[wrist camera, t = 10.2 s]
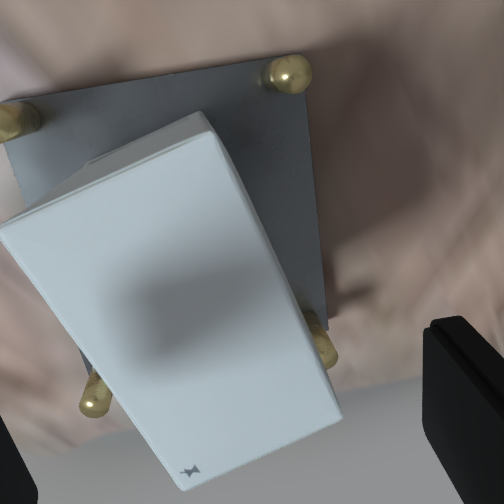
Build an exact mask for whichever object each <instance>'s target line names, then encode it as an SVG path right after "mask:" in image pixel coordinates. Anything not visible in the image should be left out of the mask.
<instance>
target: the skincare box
mask: <svg viewBox="0 0 504 504" xmlns="http://www.w3.org/2000/svg"><path fill="white" fill-rule="evenodd" d="M0 241H1V242H2V243H3V245H4V246H5V247H6V248H7V250H8V251H9V252H10V253H11V255H12V256H13V257H14V259H15V260H16V261H17V263H18V264H19V265H20V267H21V268H22V269H23V271H24V272H25V273H26V275H27V276H28V278H29V279H30V280H31V282H32V283H33V284H34V286H35V287H36V288H37V290H38V291H39V292H40V294H41V295H42V297H43V298H44V299H45V301H46V302H47V304H48V305H49V306H50V308H51V309H52V311H53V312H54V313H55V315H56V316H57V317H58V319H59V320H60V322H61V323H62V324H63V326H64V327H65V329H66V330H67V331H68V333H69V334H70V336H71V337H72V338H73V340H74V341H75V342H76V344H77V345H78V346H79V348H80V349H81V351H82V352H83V353H84V355H85V356H86V357H87V359H88V360H89V362H90V363H91V364H92V366H93V367H94V368H95V370H96V371H97V372H98V374H99V375H100V377H101V378H102V379H103V381H104V382H105V384H106V385H107V386H108V388H109V389H110V390H111V392H112V393H113V395H114V396H115V397H116V399H117V400H118V402H119V403H120V404H121V406H122V407H123V409H124V410H125V411H126V413H127V414H128V416H129V417H130V419H131V420H132V421H133V423H134V424H135V426H136V427H137V429H138V430H139V431H140V433H141V434H142V436H143V437H144V438H145V440H146V441H147V443H148V444H149V446H150V447H151V448H152V450H153V451H154V452H155V454H156V455H157V457H158V458H159V460H160V461H161V462H162V464H163V465H164V467H165V468H166V470H167V471H168V472H169V474H170V475H171V477H172V478H173V480H174V481H175V483H176V484H177V486H178V487H179V488H180V489H181V490H182V491H188V490H190V489H192V488H194V487H197V486H199V485H201V484H203V483H206V482H208V481H210V480H212V479H214V478H216V477H219V476H221V475H223V474H225V473H228V472H230V471H232V470H234V469H236V468H238V467H240V466H243V465H245V464H247V463H249V462H252V461H254V460H256V459H258V458H260V457H263V456H265V455H267V454H269V453H271V452H274V451H276V450H278V449H280V448H283V447H285V446H287V445H289V444H292V443H294V442H296V441H298V440H301V439H303V438H305V437H308V436H310V435H311V434H314V433H315V432H317V431H320V430H322V429H324V428H325V427H328V426H330V425H332V424H334V423H337V422H338V421H340V420H342V419H343V414H342V410H341V407H340V405H339V402H338V400H337V397H336V394H335V392H334V389H333V386H332V384H331V381H330V379H329V376H328V374H327V371H326V369H325V366H324V364H323V361H322V359H321V356H320V354H319V352H318V349H317V347H316V345H315V342H314V340H313V338H312V335H311V333H310V331H309V328H308V326H307V324H306V321H305V319H304V317H303V315H302V312H301V310H300V308H299V306H298V303H297V301H296V299H295V297H294V294H293V292H292V290H291V288H290V285H289V283H288V281H287V279H286V276H285V274H284V272H283V270H282V268H281V265H280V263H279V261H278V259H277V256H276V254H275V252H274V250H273V248H272V245H271V243H270V241H269V239H268V237H267V234H266V232H265V230H264V228H263V226H262V223H261V221H260V219H259V217H258V215H257V213H256V210H255V208H254V206H253V204H252V202H251V200H250V197H249V195H248V193H247V191H246V189H245V187H244V185H243V182H242V180H241V178H240V176H239V174H238V172H237V170H236V168H235V166H234V164H233V162H232V160H231V158H230V156H229V154H228V152H227V150H226V148H225V147H224V145H223V143H222V141H221V140H220V138H219V136H218V135H217V133H216V132H215V130H214V129H213V127H212V126H211V125H210V123H209V121H208V120H207V119H206V117H205V115H204V114H203V112H202V111H197V112H195V113H193V114H191V115H188V116H186V117H184V118H181V119H179V120H177V121H175V122H173V123H171V124H169V125H167V126H165V127H163V128H161V129H159V130H156V131H154V132H152V133H150V134H148V135H146V136H143V137H141V138H139V139H137V140H135V141H132V142H130V143H128V144H126V145H124V146H122V147H119V148H117V149H115V150H113V151H110V152H108V153H105V154H103V155H101V156H98V157H96V158H94V159H92V160H89V161H87V162H86V163H85V164H84V166H83V167H82V168H81V169H80V170H78V171H77V172H75V173H74V174H73V175H71V176H70V177H69V178H67V179H66V180H65V181H63V182H62V183H61V184H59V185H58V186H56V187H55V188H54V189H53V190H51V191H50V192H49V193H47V194H46V195H44V196H43V197H42V198H40V199H39V200H37V201H36V202H35V203H33V204H32V205H31V206H29V207H28V208H27V209H25V210H24V211H23V212H21V213H19V214H17V215H15V216H13V217H12V218H10V219H8V220H7V221H5V222H3V223H2V224H1V225H0Z"/></svg>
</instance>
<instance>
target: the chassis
mask: <svg viewBox="0 0 504 504" xmlns="http://www.w3.org/2000/svg"><path fill="white" fill-rule="evenodd" d="M311 79H312V69H311V66H310V64H309V62H308V61H307V60H306V59H305V58H304V57H302V54H301V53H298V54H292V55H285V56H279V57H273V58H267V59H261V60H255V61H249V62H243V63H237V64H231V65H225V66H219V67H213V68H206V69H200V70H194V71H188V72H182V73H176V74H170V75H164V76H158V77H152V78H146V79H140V80H133V81H127V82H121V83H115V84H109V85H103V86H97V87H91V88H85V89H79V90H73V91H67V92H60V93H54V94H48V95H42V96H36V97H30V98H24V99H18V100H12V101H6V102H0V144H1V143H3V144H4V147H5V149H6V152H7V155H8V157H9V160H10V163H11V166H12V168H13V171H14V174H15V176H16V179H17V182H18V185H19V187H20V190H21V193H22V195H23V198H24V201H25V203H26V206H27V208H28V207H29V206H31V205H32V204H33V203H35V202H36V201H37V200H39V199H40V198H42V197H43V196H44V195H46V194H47V193H49V192H50V191H51V190H53V189H54V188H55V187H56V186H58V185H59V184H61V183H62V182H63V181H65V180H66V179H67V178H69V177H70V176H71V175H73V174H74V173H75V172H77V171H78V170H80V169H81V168H82V167H83V166H84V164H85V163H86V162H87V161H89V160H92V159H94V158H96V157H98V156H101V155H103V154H105V153H108V152H110V151H113V150H115V149H117V148H119V147H122V146H124V145H126V144H128V143H130V142H132V141H135V140H137V139H139V138H141V137H143V136H146V135H148V134H150V133H152V132H154V131H156V130H159V129H161V128H163V127H165V126H167V125H169V124H171V123H173V122H175V121H177V120H179V119H181V118H184V117H186V116H188V115H191V114H193V113H195V112H197V111H202V112H203V114H204V115H205V117H206V119H207V120H208V121H209V123H210V125H211V126H212V127H213V129H214V130H215V132H216V133H217V135H218V136H219V138H220V140H221V141H222V143H223V145H224V147H225V148H226V150H227V152H228V154H229V156H230V158H231V160H232V162H233V164H234V166H235V168H236V170H237V172H238V174H239V176H240V178H241V180H242V182H243V185H244V187H245V189H246V191H247V193H248V195H249V197H250V200H251V202H252V204H253V206H254V208H255V210H256V213H257V215H258V217H259V219H260V221H261V223H262V226H263V228H264V230H265V232H266V234H267V237H268V239H269V241H270V243H271V245H272V248H273V250H274V252H275V254H276V256H277V259H278V261H279V263H280V265H281V268H282V270H283V272H284V274H285V276H286V279H287V281H288V283H289V285H290V288H291V290H292V292H293V294H294V297H295V299H296V301H297V303H298V306H299V308H300V310H301V312H302V315H303V317H304V319H305V321H306V324H307V326H308V328H309V331H310V333H311V335H312V338H313V340H314V342H315V345H316V347H317V349H318V352H319V354H320V356H321V359H322V361H323V364H324V366H325V369H326V370H327V369H330V368H331V367H333V366H334V365H335V364H336V362H337V360H338V353H337V351H336V350H335V348H334V346H333V344H332V342H331V340H330V338H329V336H328V334H327V333H326V331H328V330H329V327H328V317H327V307H326V297H325V286H324V276H323V266H322V256H321V246H320V236H319V226H318V216H317V206H316V195H315V185H314V175H313V165H312V155H311V145H310V135H309V125H308V115H307V104H306V94H305V89H306V88H307V87H308V86H309V84H310V82H311ZM78 347H79V346H78ZM79 350H80V352H81V355H82V358H83V361H84V363H85V366H86V369H87V371H88V374H89V379H88V381H87V384H86V387H85V390H84V393H83V396H82V398H81V401H80V404H79V408H80V411H81V412H82V414H84V415H85V416H87V417H90V418H99V417H102V416H104V415H105V414H106V413H107V412H108V410H109V406H110V403H111V399H112V395H113V393H112V392H111V390H110V389H109V388H108V386H107V385H106V384H105V382H104V381H103V379H102V378H101V377H100V375H99V374H98V372H97V371H96V370H95V368H94V367H93V366H92V364H91V363H90V362H89V360H88V359H87V357H86V356H85V355H84V353H83V352H82V351H81V349H80V348H79Z"/></svg>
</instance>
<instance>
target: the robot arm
mask: <svg viewBox="0 0 504 504" xmlns="http://www.w3.org/2000/svg"><path fill="white" fill-rule="evenodd" d="M422 394H423V395H422V398H423V399H422V423H423V428H424V432H425V435H426V437H427V439H428V440H429V443H430V444H431V446H432V448H433V450H434V451H435V453H436V455H437V457H438V458H439V460H440V462H441V464H442V466H443V467H444V469H445V471H446V473H447V474H448V476H449V478H450V479H451V481H452V483H453V485H454V487H455V489H456V490H457V492H458V494H459V496H460V497H461V499H462V501H463V503H464V504H504V358H503V357H502V356H501V355H500V354H499V353H498V352H497V351H496V350H495V349H494V348H493V347H492V346H491V345H490V344H489V343H488V342H487V341H486V340H485V339H484V338H483V337H482V336H481V335H480V334H479V333H478V332H477V331H476V330H475V329H474V328H473V327H472V326H471V325H470V324H469V323H468V322H467V321H466V320H465V319H464V318H463V317H462V316H452V317H446V318H440V319H434V320H432V322H431V324H430V327H428V328H425V329H424V331H423V392H422ZM37 500H38V490H37V487H36V485H35V483H34V481H33V479H32V477H31V475H30V473H29V471H28V469H27V467H26V465H25V463H24V461H23V459H22V457H21V455H20V453H19V451H18V449H17V447H16V445H15V443H14V441H13V439H12V437H11V435H10V433H9V432H8V430H7V428H6V426H5V424H4V422H3V420H2V418H1V416H0V504H37Z"/></svg>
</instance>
